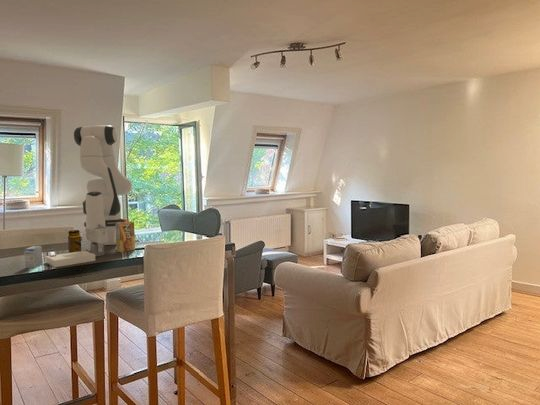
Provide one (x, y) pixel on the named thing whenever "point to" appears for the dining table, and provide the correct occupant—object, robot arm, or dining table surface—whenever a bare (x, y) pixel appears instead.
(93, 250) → the plug
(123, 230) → the candy box
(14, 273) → the dining table surface
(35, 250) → the medicine box
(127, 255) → the dining table surface
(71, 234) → the condiment
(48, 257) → the socket
